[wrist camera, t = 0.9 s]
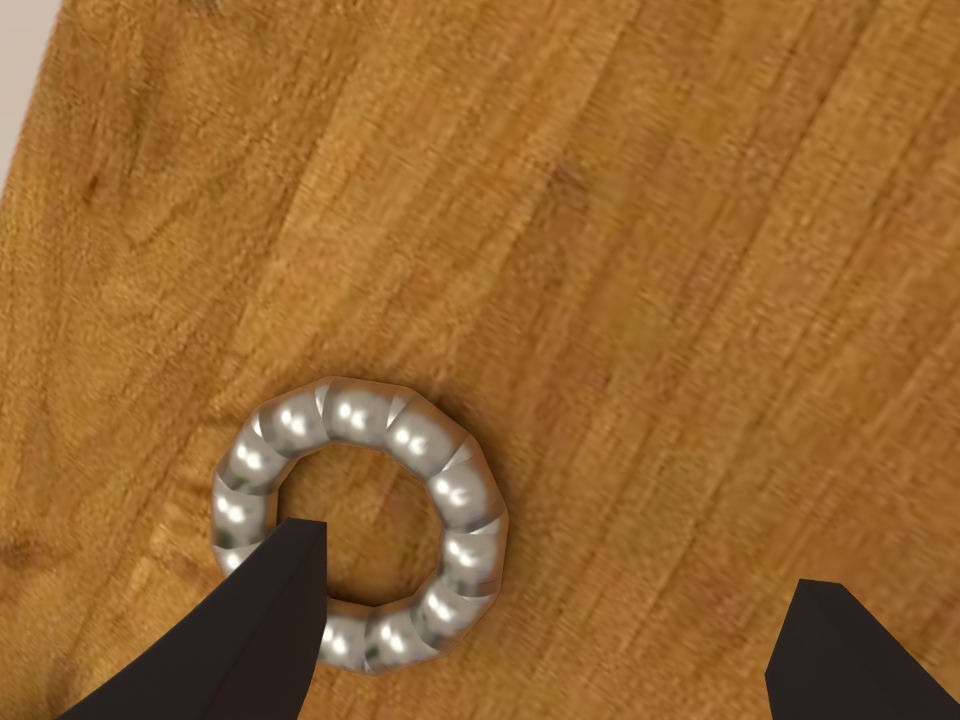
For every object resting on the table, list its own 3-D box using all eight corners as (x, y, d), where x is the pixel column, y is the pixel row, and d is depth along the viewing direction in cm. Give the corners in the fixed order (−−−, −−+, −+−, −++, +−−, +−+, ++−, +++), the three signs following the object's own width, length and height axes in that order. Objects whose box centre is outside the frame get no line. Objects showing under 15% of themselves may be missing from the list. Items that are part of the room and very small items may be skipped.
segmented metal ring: (491, 676, 30) (480, 715, 27) (224, 618, 31) (192, 651, 29) (528, 398, 27) (519, 414, 25) (237, 352, 29) (204, 364, 27)
